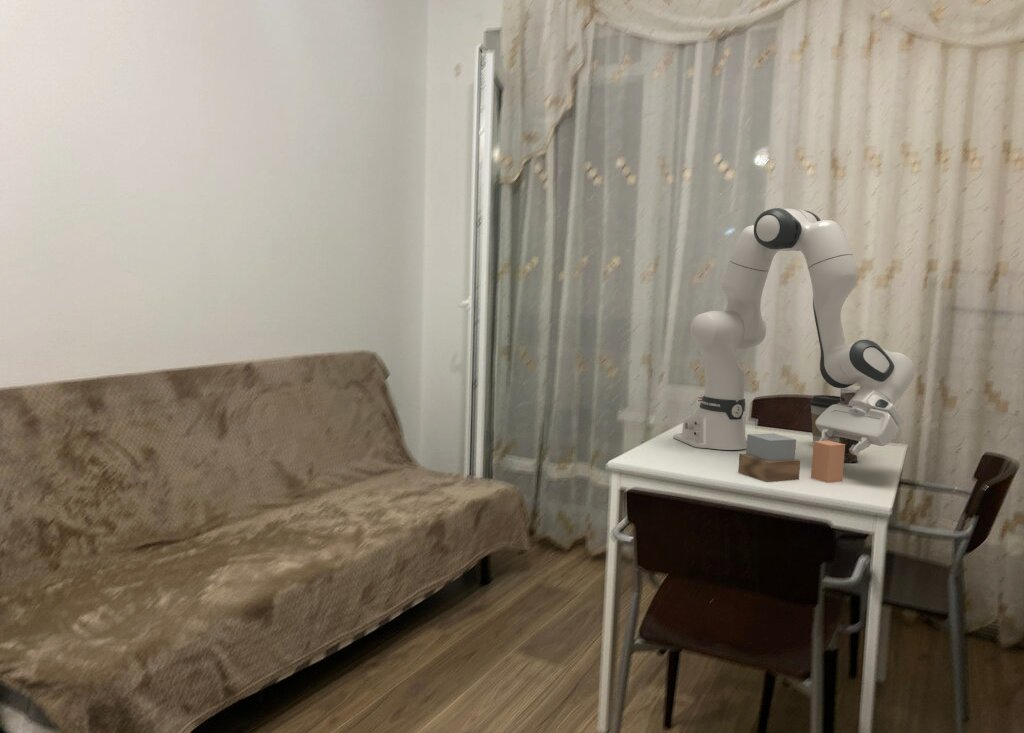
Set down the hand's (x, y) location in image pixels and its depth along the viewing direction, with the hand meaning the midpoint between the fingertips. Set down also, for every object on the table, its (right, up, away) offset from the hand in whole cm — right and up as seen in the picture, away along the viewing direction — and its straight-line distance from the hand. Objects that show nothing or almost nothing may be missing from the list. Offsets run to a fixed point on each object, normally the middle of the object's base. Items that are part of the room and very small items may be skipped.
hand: (836, 449), depth 192 cm
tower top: (-16, -2, +1) cm, 16 cm away
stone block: (+14, -6, +26) cm, 30 cm away
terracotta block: (-3, -7, 0) cm, 8 cm away
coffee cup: (+14, -4, +42) cm, 44 cm away
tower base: (-16, -7, +1) cm, 18 cm away
